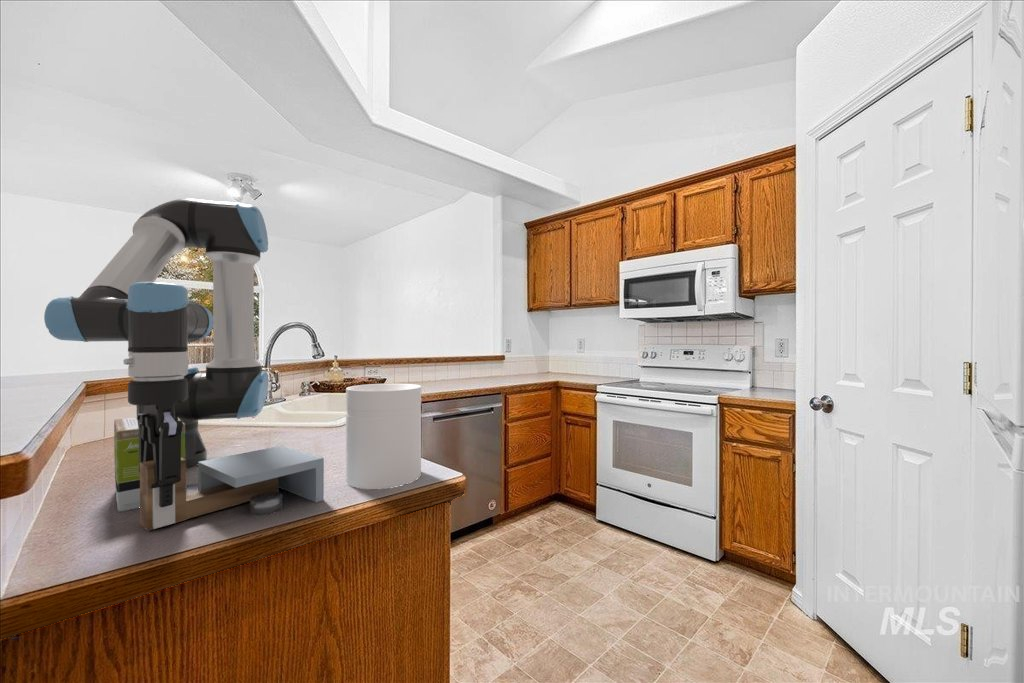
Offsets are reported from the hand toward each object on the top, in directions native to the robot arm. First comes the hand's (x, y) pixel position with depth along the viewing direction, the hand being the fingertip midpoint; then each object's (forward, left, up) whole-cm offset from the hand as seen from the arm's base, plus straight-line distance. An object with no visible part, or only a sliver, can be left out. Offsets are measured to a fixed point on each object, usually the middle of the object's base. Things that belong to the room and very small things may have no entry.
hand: (159, 521), depth 69 cm
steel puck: (+7, +13, -1) cm, 15 cm away
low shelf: (+3, +14, -1) cm, 15 cm away
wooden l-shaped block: (0, +8, 0) cm, 8 cm away
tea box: (-19, +3, -1) cm, 19 cm away
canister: (+9, +37, -1) cm, 39 cm away
